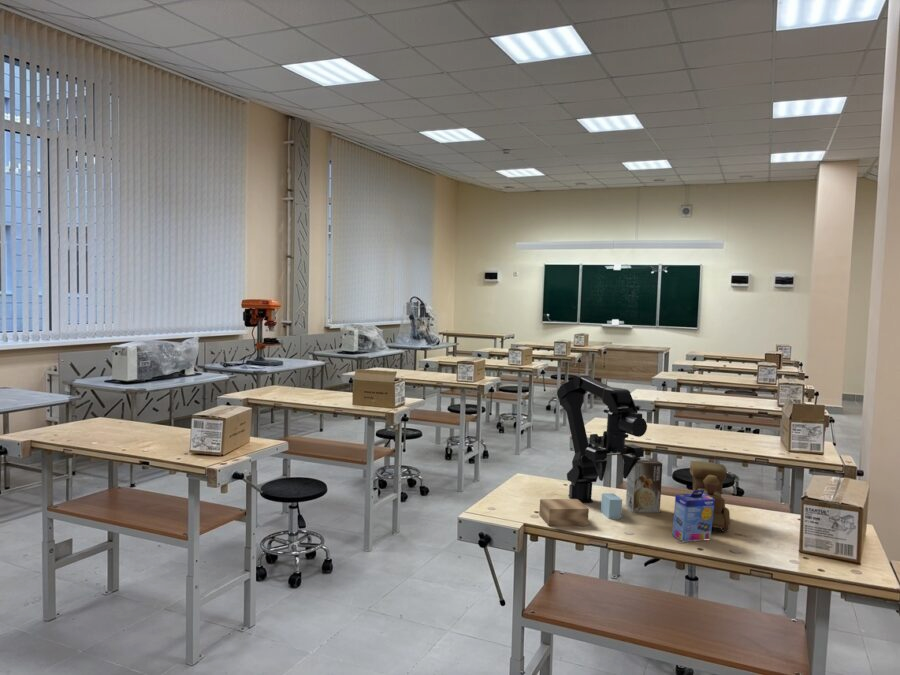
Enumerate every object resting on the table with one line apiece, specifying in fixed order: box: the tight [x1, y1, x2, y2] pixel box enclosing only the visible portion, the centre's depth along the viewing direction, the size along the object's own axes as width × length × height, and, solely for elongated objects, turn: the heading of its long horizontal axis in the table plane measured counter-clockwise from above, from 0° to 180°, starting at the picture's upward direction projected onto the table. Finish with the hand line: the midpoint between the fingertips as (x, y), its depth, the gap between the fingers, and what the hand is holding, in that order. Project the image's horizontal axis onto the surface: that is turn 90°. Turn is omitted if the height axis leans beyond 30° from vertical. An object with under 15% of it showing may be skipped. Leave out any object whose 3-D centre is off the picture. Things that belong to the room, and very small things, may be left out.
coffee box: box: [625, 457, 664, 513], centre depth 200 cm, size 9×6×16 cm
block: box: [600, 492, 623, 520], centre depth 193 cm, size 4×6×6 cm, turn 9°
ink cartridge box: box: [671, 490, 715, 542], centre depth 177 cm, size 10×6×14 cm, turn 108°
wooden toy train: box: [689, 460, 731, 532], centre depth 190 cm, size 20×11×17 cm, turn 163°
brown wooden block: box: [538, 498, 590, 527], centre depth 186 cm, size 12×9×5 cm
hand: (612, 479), depth 192 cm, fingers open, 9 cm apart
